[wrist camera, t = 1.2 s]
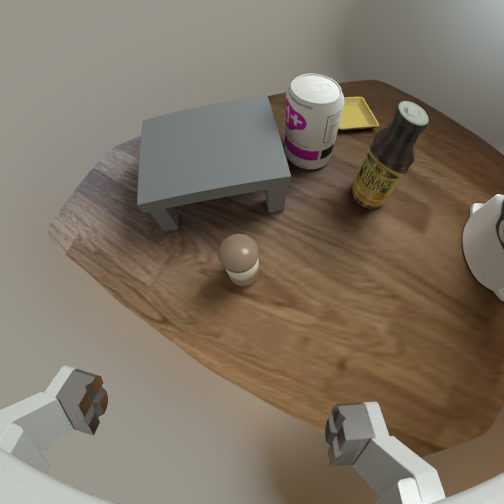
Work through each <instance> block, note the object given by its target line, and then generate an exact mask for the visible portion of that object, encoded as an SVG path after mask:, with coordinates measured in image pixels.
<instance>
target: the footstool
mask: <svg viewBox="0 0 504 504" xmlns="http://www.w3.org/2000/svg"><path fill="white" fill-rule="evenodd" d="M290 184H291V174H290V170H289V167H288V163H287V160H286V156H285V153H284V149H283V146H282V142H281V139H280V135H279V132H278V129H277V125H276V122H275V119H274V115H273V112H272V109H271V106H270V103H269V99H268V96H262V97H255V98H248V99H241V100H234V101H229V102H223V103H217V104H212V105H207V106H202V107H198V108H192V109H188V110H183V111H179V112H175V113H171V114H166V115H163V116H159V117H155V118H151V119H147V120H144V121H143V125H142V135H141V146H140V158H139V174H138V195H137V205H138V207H139V208H140V209H141V210H142V212H143V213H148V212H150V214H151V215H152V216H153V218H154V219H155V220H156V222H157V223H158V224H159V225H160V227H161V228H162V229H163V230H164V232H166V231H171V230H176V229H179V223H178V215H177V213H176V211H175V210H174V208H173V207H176V206H181V205H186V204H191V203H196V202H201V201H207V200H212V199H217V198H223V197H228V196H234V195H240V194H246V193H251V192H258V191H264V190H266V202H267V207H268V212H269V213H272V212H278V211H284V204H285V188H286V187H290Z"/></svg>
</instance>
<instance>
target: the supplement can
mask: <svg viewBox="0 0 504 504" xmlns="http://www.w3.org/2000/svg"><path fill="white" fill-rule="evenodd" d="M343 106H344V96H343V94H342V92H341V87H340V86H339V85H338V83H337V82H335V81H334V80H333V79H331V78H329V77H326V76H324V75H319V74H304V75H300V76H298V77H297V78H295V79H294V80H293V81H292V83H291V85H290V86H289V88H288V89H287V96H286V129H285V154H286V156H287V158H288V159H289V160H290V161H291V162H292V163H293V164H294V165H296V166H298V167H300V168H305V169H318V168H320V167H323V166H325V165H326V164H327V163H328V162H329V161H330V158H331V156H332V152H333V148H334V144H335V140H336V136H337V132H338V128H339V123H340V119H341V115H342V110H343Z"/></svg>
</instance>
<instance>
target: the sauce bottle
mask: <svg viewBox="0 0 504 504" xmlns="http://www.w3.org/2000/svg"><path fill="white" fill-rule="evenodd" d="M427 124H428V116H427V114H426V112H425V111H424V110H423V109H422V108H421V107H419V106H418V105H416V104H415V103H412V102H407V101H403V102H401V103H400V104H399V105H398V107H397V108H396V110H395V117H394V119H393V121H392V123H391V124H390V125H389V127H387V128H385V129H383V130H380V131H379V132H378V133H377V134H376V136H375V138H374V140H373V142H372V144H371V145H370V147H369V149H368V151H367V153H366V155H365V158H364V160H363V162H362V164H361V166H360V168H359V170H358V172H357V174H356V176H355V179H354V181H353V185H352V195H353V197H354V199H355V201H356V202H357V203H358V204H359V205H361V206H363V207H365V208H369V209H375V208H378V207H380V206H381V205H383V204H384V203H385V202H386V200H387V199H388V198H389V196H390V195H391V193H392V192H393V191H394V189H395V188H396V186H397V185H398V183H399V182H400V181H401V179H402V178H403V177H404V175H405V174H406V172H407V170H408V168H409V167H410V165H411V164H412V162H413V161H414V157H415V147H414V144H415V142H416V140H417V138H418V136H419V134H420V133H421V132H422V131H423V130H424V129H425V128H426V126H427Z"/></svg>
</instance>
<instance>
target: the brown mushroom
mask: <svg viewBox="0 0 504 504" xmlns="http://www.w3.org/2000/svg"><path fill="white" fill-rule="evenodd" d="M218 254H219V259H220V261H221V263H222V265H223V266H224V267H225V269H226V271H227V273H228V275H229V277H230V279H231V281H232V282H233V283H234V284H236V285H238V286H249V285H251V284H253V283H254V282H256V280H257V279H258V277H259V274H260V268H259V261H258V248H257V245H256V243H255V241H254V240H253V239H252V238H251V237H249V236H247V235H244V234H234V235H231V236H229V237H227V238H226V239H225V240H224V241H223V242H222V243H221V245H220V247H219V252H218Z"/></svg>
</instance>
